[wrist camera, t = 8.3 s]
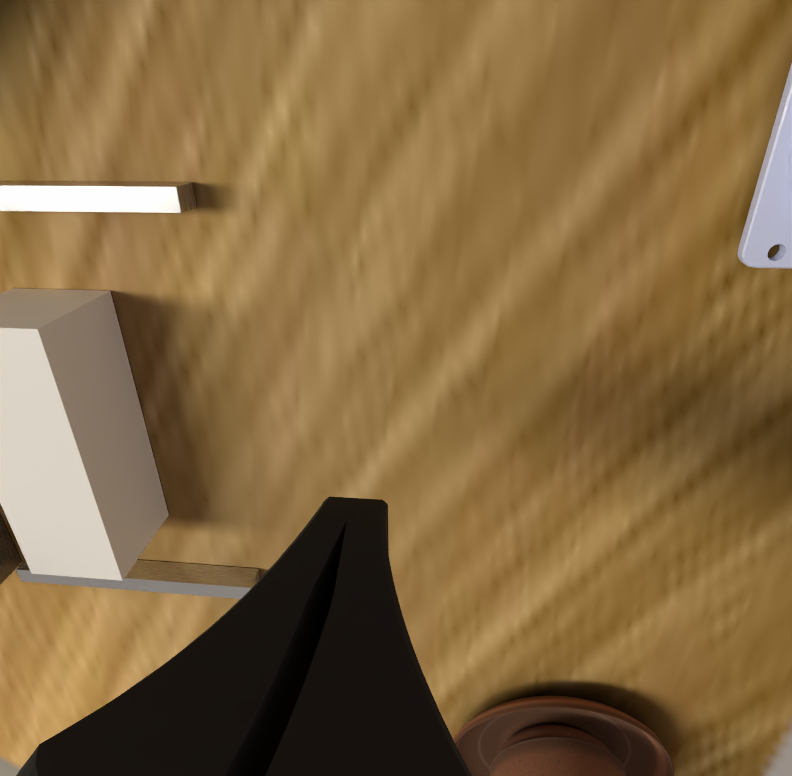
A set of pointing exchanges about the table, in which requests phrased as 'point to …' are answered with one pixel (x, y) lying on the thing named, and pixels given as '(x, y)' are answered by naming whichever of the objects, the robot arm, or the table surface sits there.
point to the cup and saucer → (560, 740)
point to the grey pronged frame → (120, 198)
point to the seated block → (73, 436)
